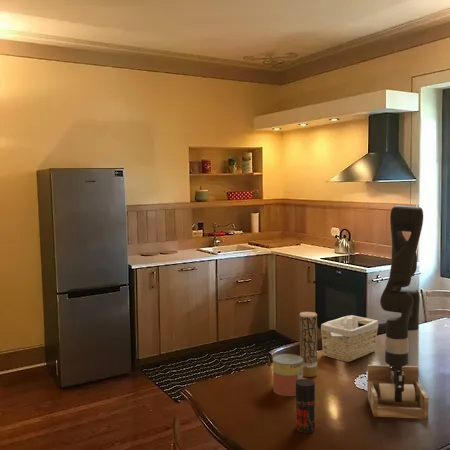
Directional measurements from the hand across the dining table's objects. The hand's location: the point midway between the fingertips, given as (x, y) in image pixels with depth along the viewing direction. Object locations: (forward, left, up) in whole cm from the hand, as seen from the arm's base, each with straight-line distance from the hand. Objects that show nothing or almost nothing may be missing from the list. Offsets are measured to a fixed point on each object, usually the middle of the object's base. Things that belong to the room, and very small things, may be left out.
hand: (396, 397), depth 176 cm
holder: (0, 0, -3) cm, 3 cm away
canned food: (-12, -37, -4) cm, 39 cm away
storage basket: (-55, -10, -4) cm, 56 cm away
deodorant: (+18, -31, -4) cm, 36 cm away
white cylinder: (0, 0, +2) cm, 2 cm away
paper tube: (-28, -29, -4) cm, 41 cm away
